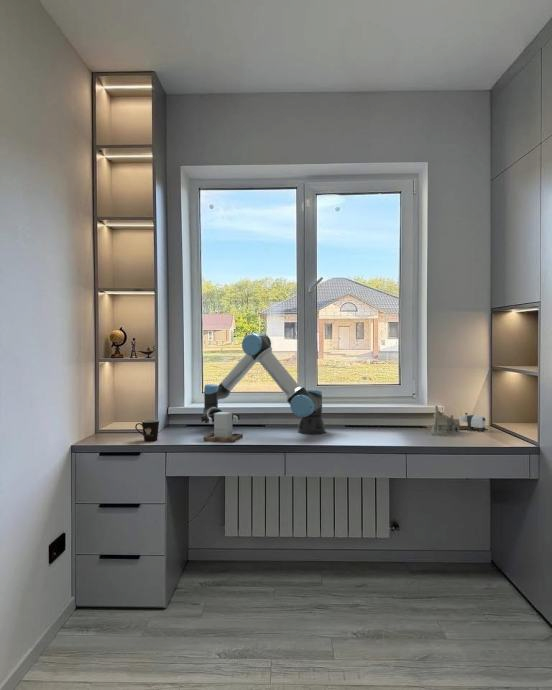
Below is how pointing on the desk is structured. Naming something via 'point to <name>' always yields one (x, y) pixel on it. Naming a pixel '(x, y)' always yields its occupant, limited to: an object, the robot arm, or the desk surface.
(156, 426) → the coffee mug
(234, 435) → the walnut tray
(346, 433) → the desk surface
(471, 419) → the giant panda
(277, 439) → the desk surface
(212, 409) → the robot arm
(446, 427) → the ceramic cottage
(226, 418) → the supplement box
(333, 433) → the desk surface
